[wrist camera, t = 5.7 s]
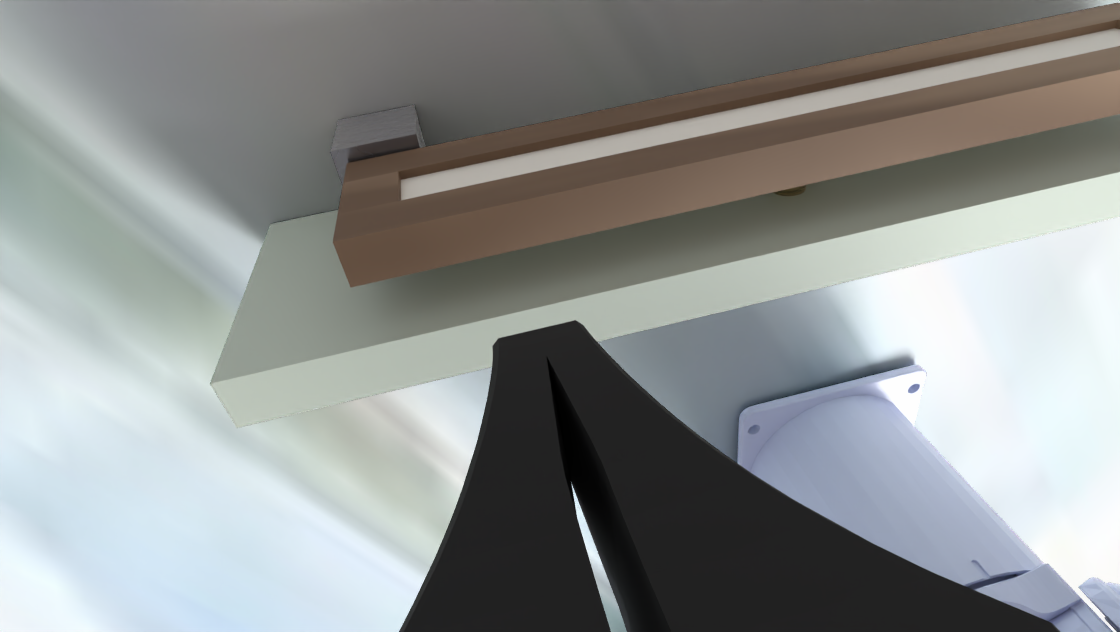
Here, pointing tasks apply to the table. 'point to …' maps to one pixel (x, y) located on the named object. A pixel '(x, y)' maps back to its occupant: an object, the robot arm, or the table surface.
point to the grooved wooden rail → (722, 144)
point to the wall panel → (631, 264)
